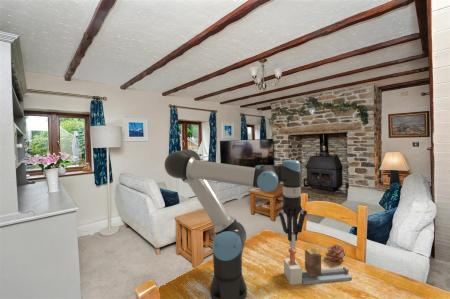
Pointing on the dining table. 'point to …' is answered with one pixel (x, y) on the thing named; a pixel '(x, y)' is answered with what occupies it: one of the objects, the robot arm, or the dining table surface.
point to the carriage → (312, 262)
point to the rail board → (327, 276)
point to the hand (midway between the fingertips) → (292, 247)
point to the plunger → (292, 255)
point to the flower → (335, 253)
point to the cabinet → (293, 272)
